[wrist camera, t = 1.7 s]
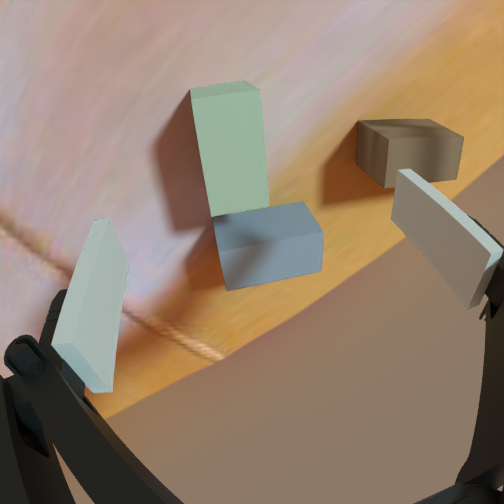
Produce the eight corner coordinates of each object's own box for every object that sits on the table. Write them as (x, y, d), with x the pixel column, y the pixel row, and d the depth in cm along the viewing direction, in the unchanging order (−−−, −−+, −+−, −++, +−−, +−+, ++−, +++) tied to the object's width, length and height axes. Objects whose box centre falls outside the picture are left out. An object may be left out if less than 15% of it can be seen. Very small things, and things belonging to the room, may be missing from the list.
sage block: (255, 176, 26) (269, 206, 22) (206, 185, 25) (211, 216, 22) (245, 80, 21) (260, 89, 17) (190, 88, 21) (191, 99, 17)
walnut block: (355, 163, 27) (384, 188, 23) (357, 120, 24) (388, 139, 20) (424, 156, 27) (456, 179, 24) (428, 118, 25) (463, 137, 21)
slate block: (219, 253, 30) (226, 291, 26) (212, 217, 27) (218, 252, 23) (303, 237, 31) (321, 271, 27) (302, 200, 28) (323, 232, 24)
